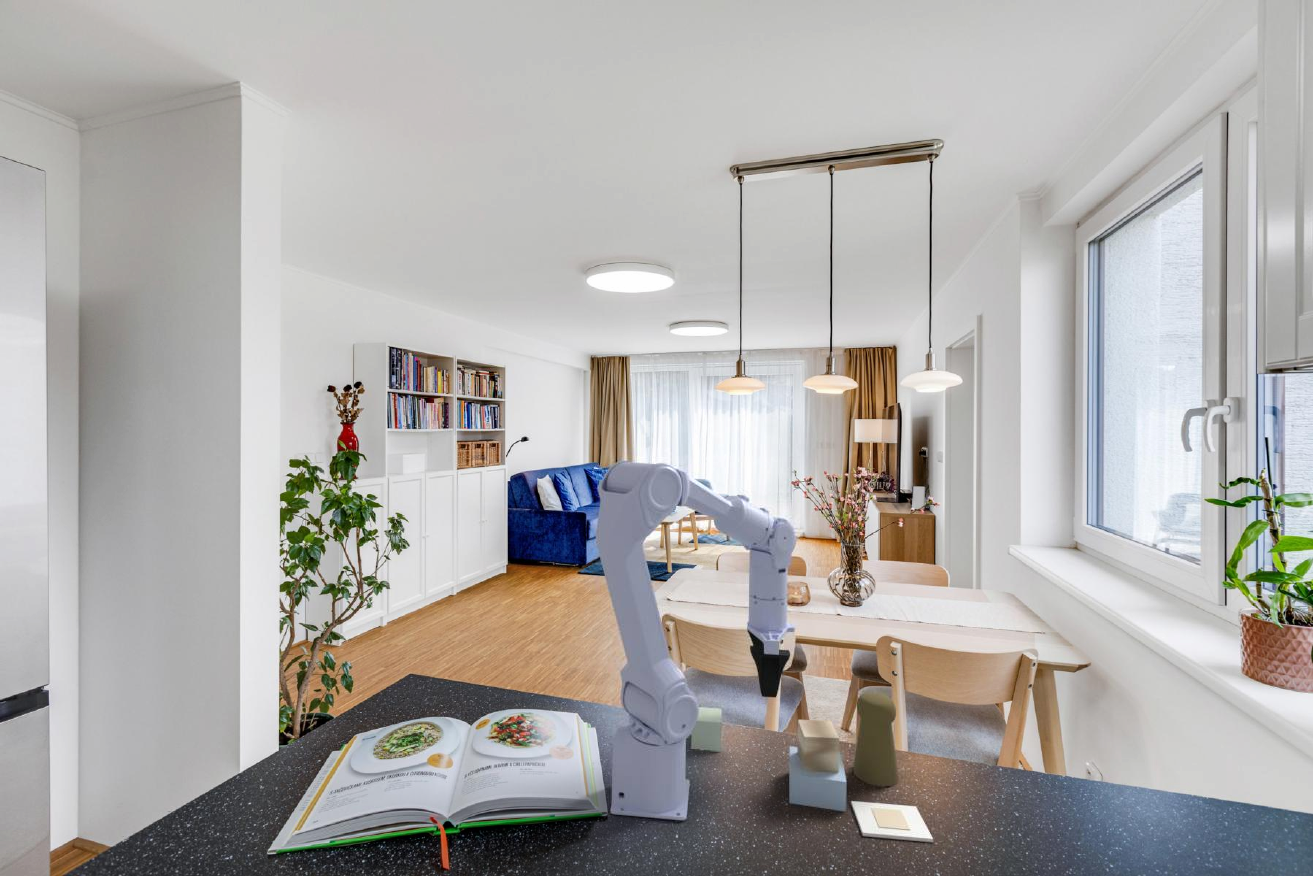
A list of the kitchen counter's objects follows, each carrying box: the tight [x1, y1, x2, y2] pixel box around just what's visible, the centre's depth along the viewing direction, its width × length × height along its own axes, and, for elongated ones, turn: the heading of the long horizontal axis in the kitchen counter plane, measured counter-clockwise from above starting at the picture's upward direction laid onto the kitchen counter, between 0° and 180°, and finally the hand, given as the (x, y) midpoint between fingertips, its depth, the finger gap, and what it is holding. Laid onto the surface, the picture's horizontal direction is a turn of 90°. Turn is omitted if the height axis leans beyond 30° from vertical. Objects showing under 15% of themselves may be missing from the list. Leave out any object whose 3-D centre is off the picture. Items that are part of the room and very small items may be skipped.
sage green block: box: [690, 706, 723, 753], centre depth 88 cm, size 4×4×4 cm
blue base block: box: [788, 745, 847, 813], centre depth 76 cm, size 7×7×4 cm
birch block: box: [796, 719, 840, 773], centre depth 76 cm, size 4×4×4 cm
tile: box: [850, 800, 934, 843], centre depth 70 cm, size 8×6×1 cm
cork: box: [852, 691, 900, 788], centre depth 80 cm, size 6×6×11 cm
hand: (766, 685), depth 86 cm, fingers open, 7 cm apart
